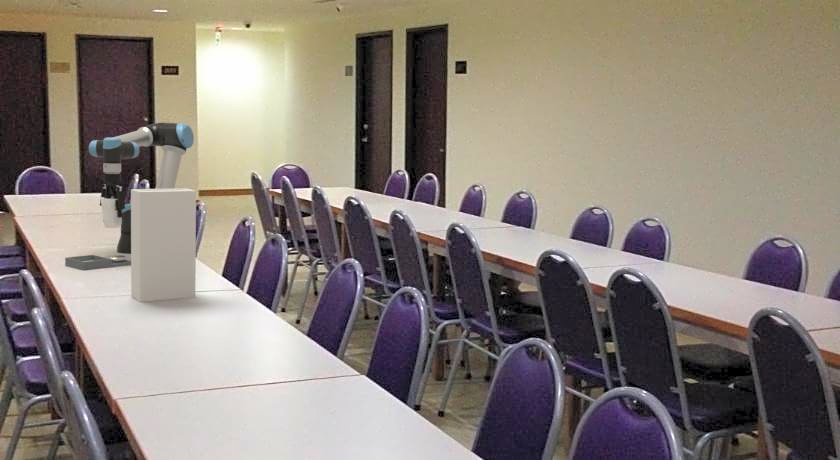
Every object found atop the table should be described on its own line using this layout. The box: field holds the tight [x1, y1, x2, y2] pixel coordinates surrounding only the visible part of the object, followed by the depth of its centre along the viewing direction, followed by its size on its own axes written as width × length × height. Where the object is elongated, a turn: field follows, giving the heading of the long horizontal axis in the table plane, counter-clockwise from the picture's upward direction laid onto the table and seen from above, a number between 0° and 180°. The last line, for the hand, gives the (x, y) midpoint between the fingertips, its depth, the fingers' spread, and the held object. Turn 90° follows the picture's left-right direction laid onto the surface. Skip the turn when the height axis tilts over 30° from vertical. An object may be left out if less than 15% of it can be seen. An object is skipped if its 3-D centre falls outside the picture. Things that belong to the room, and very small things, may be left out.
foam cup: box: [100, 196, 121, 229], centre depth 421 cm, size 10×9×13 cm
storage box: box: [130, 187, 197, 303], centre depth 353 cm, size 21×10×40 cm, turn 124°
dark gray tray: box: [64, 254, 131, 271], centre depth 418 cm, size 25×15×4 cm, turn 140°
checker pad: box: [104, 254, 126, 262], centre depth 423 cm, size 9×9×2 cm
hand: (112, 223), depth 422 cm, fingers closed on foam cup, 9 cm apart
